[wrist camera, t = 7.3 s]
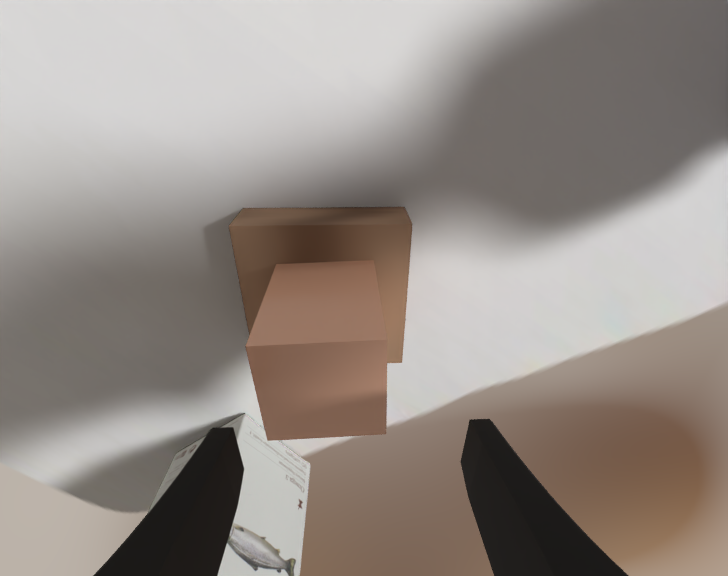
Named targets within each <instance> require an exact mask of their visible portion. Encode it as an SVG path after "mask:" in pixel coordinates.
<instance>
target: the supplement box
mask: <svg viewBox="0 0 728 576" xmlns="http://www.w3.org/2000/svg"><path fill="white" fill-rule="evenodd" d="M222 427H233V428H234V432H235V435H236V439H237V443H238V447H239V451H240V454H241V458H242V462H243V466H244V474H243V480H242V486H241V491H240V497H239V502H238V507H237V510H236V514H235V517H234V521H233V524H232V528H231V531H230V535H229V538H228V541H227V545H226V548H225V552H224V555H223V558H222V562H221V565H220V568H219V572H218V575H217V576H300V566H301V556H302V546H303V536H304V526H305V516H306V506H307V496H308V485H309V475H310V464H309V462H307V461H305V460H304V459H302V458H301V457H299V456H298V455H297V454H295V453H294V452H293V451H291V450H290V449H289V448H287V447H286V446H285V445H283V444H282V443H281V442H280V441H278V440H271V441H267V437H266V433H265V430H264V429H263V428H262V427H261V426H259V425H258V424H257V423H256V422H255V421H253V420H252V419H251V418H250V417H249V416H248V415H246V414H243V415H241V416H240V417H238V418H236V419H234V420H232V421H230V422H229V423H227V424H225V425H223V426H222ZM220 428H221V427H220ZM205 437H206V436H205ZM205 437H203V438H201V439H199V440H198V441H196V442H194V443H193V444H191V445H189V446H188V447H186V448H184V449H182V450H181V451H179V452H178V453H176V455H175V457H174V459H173V461H172V463H171V465H170V467H169V469H168V471H167V473H166V475H165V478H164V480H163V482H162V484H161V486H160V488H159V490H158V492H157V494H156V496H155V498H154V500H153V503H152V505H151V507H150V509H149V511H148V513H149V512H150V510H151V509H152V508H153V507H154V505H155V504H156V503H157V502H158V500H159V499H160V498H161V496H162V495H163V494H164V493H165V491H166V490H167V489H168V487H169V486H170V485H171V483H172V482H173V481H174V480H175V478H176V477H177V476H178V474H179V473H180V472H181V470H182V469H183V468H184V466H185V465H186V463H187V462H188V461H189V459H190V458H191V457H192V455H193V454H194V452H195V451H196V450H197V448H198V447H199V445H200V444H201V442H202V441H203V440H204V438H205Z"/></svg>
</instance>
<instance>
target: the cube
mask: <svg viewBox="0 0 728 576" xmlns="http://www.w3.org/2000/svg"><path fill="white" fill-rule="evenodd" d="M245 347H246V351H247V355H248V360H249V364H250V368H251V373H252V377H253V381H254V385H255V390H256V394H257V398H258V403H259V407H260V411H261V416H262V420H263V424H264V428H265V433H266V437H267V441H271V440H289V439H307V438H325V437H343V436H361V435H378V434H386V408H387V335H386V329H385V323H384V317H383V311H382V305H381V299H380V293H379V288H378V282H377V276H376V270H375V264H374V260H366V261H341V262H316V263H292V264H276V266H275V269H274V272H273V274H272V277H271V280H270V282H269V285H268V288H267V290H266V293H265V296H264V298H263V301H262V304H261V306H260V309H259V312H258V314H257V317H256V320H255V322H254V325H253V328H252V330H251V333H250V336H249V338H248V341H247V344H246V346H245Z"/></svg>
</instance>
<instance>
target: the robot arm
mask: <svg viewBox="0 0 728 576" xmlns="http://www.w3.org/2000/svg"><path fill="white" fill-rule="evenodd" d="M461 465H462V470H463V475H464V479H465V484H466V489H467V493H468V497H469V500H470V503H471V507H472V510H473V513H474V516H475V519H476V522H477V525H478V528H479V531H480V534H481V537H482V540H483V543H484V546H485V549H486V552H487V555H488V558H489V561H490V564H491V567H492V570H493V573H494V576H628V575H627V574H626V573H625V572H624V571H623V570H622V569H621V568H620V567H619V566H618V565H616V564H615V562H613V561H612V560H611V559H610V558H609V557H608V556H607V555H606V554H605V553H604V552H603V551H602V550H601V549H600V548H599V547H598V546H597V545H596V544H595V543H594V542H593V541H592V540H591V539H590V538H589V537H588V536H587V534H586V533H585V532H584V531H583V530H582V529H581V528H580V527H579V526H578V525H577V524H576V523H575V522H574V521H573V520H572V519H571V517H570V516H569V515H568V514H567V513H566V512H565V511H564V510H563V509H562V508H561V506H560V505H559V504H558V503H557V502H556V501H555V500H554V498H553V497H552V496H551V495H550V494H549V493H548V492H547V490H546V489H545V488H544V487H543V486H542V484H541V483H540V482H539V481H538V480H537V479H536V477H535V476H534V475H533V474H532V472H531V471H530V470H529V469H528V468H527V466H526V465H525V464H524V463H523V461H522V460H521V459H520V458H519V456H518V455H517V454H516V452H515V451H514V450H513V449H512V447H511V446H510V445H509V444H508V442H507V441H506V440H505V438H504V437H503V436H502V434H501V433H500V432H499V430H498V429H497V427H496V426H495V425H494V424H493V422H492V421H491V420H490V419H477V420H475V419H474V420H470V421H469V426H468V431H467V435H466V440H465V444H464V449H463V453H462V458H461ZM243 474H244V466H243V462H242V458H241V454H240V451H239V447H238V443H237V439H236V435H235V432H234V428H233V427H221V428H212V429H211V430H210V431H209V432H208V434H207V435H206V437H205V438H204V440H203V441H202V442H201V444H200V445H199V447H198V448H197V450H196V451H195V452H194V454H193V455H192V457H191V458H190V459H189V461H188V462H187V463H186V465H185V466H184V468H183V469H182V470H181V472H180V473H179V474H178V476H177V477H176V478H175V480H174V481H173V482H172V483H171V485H170V486H169V487H168V489H167V490H166V491H165V493H164V494H163V495H162V496H161V498H160V499H159V500H158V502H157V503H156V504H155V505H154V507H153V508H152V509H151V510H150V512H149V513H148V514H147V515H146V516H145V518H144V519H143V520H142V521H141V522H140V524H139V525H138V526H137V527H136V528H135V530H134V531H133V532H132V533H131V534H130V536H129V537H128V538H127V539H126V540H125V541H124V543H123V544H122V545H121V546H120V547H119V548H118V549H117V551H116V552H115V553H114V554H113V555H112V556H111V557H110V558H109V560H108V561H107V562H106V563H105V564H104V565H103V566H102V567H101V568H100V569H99V570H98V571H97V572H96V574H95V575H94V576H217V575H218V572H219V568H220V565H221V562H222V558H223V555H224V552H225V548H226V545H227V541H228V538H229V535H230V531H231V528H232V524H233V521H234V517H235V514H236V510H237V507H238V502H239V497H240V491H241V486H242V480H243Z"/></svg>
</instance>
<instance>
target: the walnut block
mask: <svg viewBox="0 0 728 576" xmlns="http://www.w3.org/2000/svg"><path fill="white" fill-rule="evenodd" d="M229 230H230V235H231V240H232V246H233V251H234V256H235V262H236V267H237V272H238V277H239V283H240V288H241V293H242V299H243V304H244V309H245V315H246V320H247V325H248V330H249V336H250V333H251V330H252V328H253V325H254V322H255V320H256V317H257V314H258V312H259V309H260V306H261V304H262V301H263V298H264V296H265V293H266V290H267V288H268V285H269V282H270V280H271V277H272V274H273V272H274V269H275V266H276V264H292V263H316V262H341V261H366V260H374V264H375V270H376V276H377V282H378V288H379V293H380V299H381V305H382V311H383V317H384V323H385V329H386V335H387V363H402V355H403V342H404V328H405V315H406V302H407V288H408V275H409V262H410V249H411V235H412V222H411V220H410V218H409V216H408V214H407V211H406V209H405V207H330V208H243V209H242V210H241V211H240V213H239V214H238V215H237V216H236V217H235V219H234V220H233V221H232V222H231V224H230V225H229Z"/></svg>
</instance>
